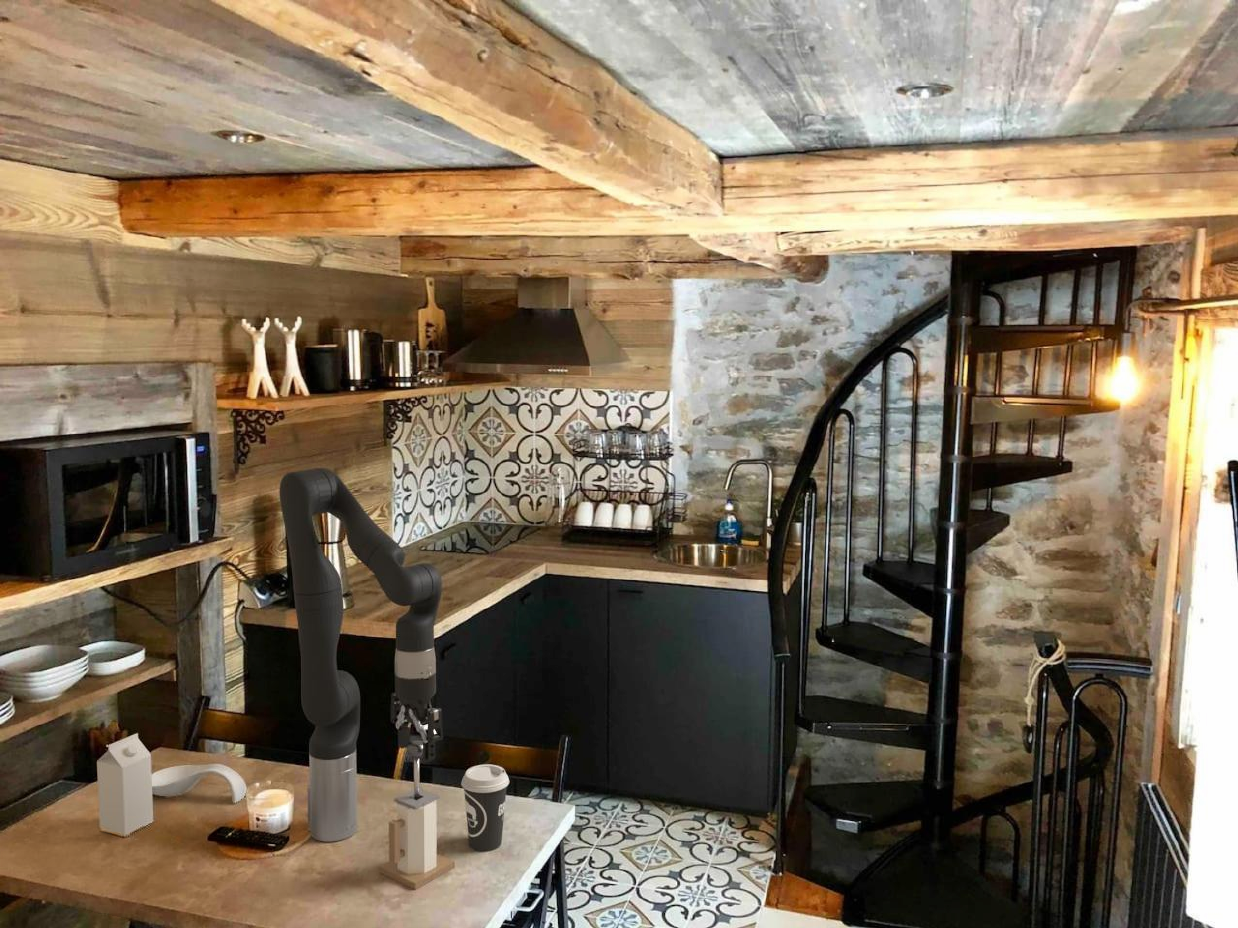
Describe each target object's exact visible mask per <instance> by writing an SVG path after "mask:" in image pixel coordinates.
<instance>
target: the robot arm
mask: <svg viewBox="0 0 1238 928" xmlns="http://www.w3.org/2000/svg"><path fill="white" fill-rule="evenodd" d="M278 491H279V493H278V494H279V503H280V509H281V515H282V518H283V523H284V529H285V534H286V538H287V543H288V548H289V550H288V551H289V558H290V564H291V573H292V582H293V583H292V585H293V596H294V597H293V598H294V606H295V613H296V619H297V631H298V642H299V650H300V669H301V671H300V675H301V676H300V677H301V678H300V679H301V680H300V686H301V688H300V695H301V696H300V698H301V700H300V701H301V702H300V703H301V707H302V710H303V714H304V716H305V717H306V718H307V720H308V721H309V722H310V723H311V724H313V725H315V727H314V728H315V729H314V731H313V733H312V735H311V737H310V738H309V742H308V751H309V752H308V753H309V754H308V756H309V758H308V759H309V761H308V762H309V785H308V786H307V788H306V789H307V790H306V791H307V827H308V828H307V830H308V829H310V830H311V831H310V835H311V837H312V838H313V839H314V840H317V841H319V842H337V841H338V842H339V841H342V840H345V839H348V838H350V837H352V836H353V835H354V834H355V833H356V832H357V831H358V795H357V794H358V792H357V791H358V787H357V784H358V783H357V782H358V781H357V780H358V779H357V777H358V776H357V740H358V738H359V733H360V726H361V723H360V722H361V694H360V688H359V685H358V682H357V680H356V679H355V677H354V676H353V675H352V674H351V673H349V672H348V671H344V670H339V669H338V666H337V665H338V664H337V663H338V662H337V653H338V652H337V650H338V644H339V639H340V634H341V629H342V626H343V619H344V611H345V609H344V596H343V587H342V586H343V585H342V580H341V577H340V574H339V572H338V571H337V569H336V567H335V565H334V564H333V563H332V561H331V560H330V559H329V558H328V556H327V555H326V553H324V551H323V550H322V548H321V546H320V545H319V543H318V540H317V537H316V533H315V528H314V522H313V521H314V520H313V516H318V515H322V514H326V513H328V514H331V516H333V517H335V518H336V519H338V520H339V521H340V522H341V523H342V524H343V527H344V529H345V536H346V541H347V545H348V547H349V549H350V550H351V552H352V553H353V555H354V556H355V557H356V558H357V560H359V561H360V562H361V563H362V564H364V566H366V568H367V569H369V570H370V571H371V572H372V573H373V575H374V578H376V580H377V582H378V584H379V585H380V588H381V589H382V591H383V593H384V594H385V596H386V597H387V599H388V600H389V601H390V602H391V603H393V604H395V605H397V606H399V607H409V609H408V610H407V611H406V613H404V614H403V615H402V616H401V617H399V618H398V619H397V620H396V623H395V653H394V654H395V655H394V690H395V691H394V692H393V693H391V694H390V722H391V724H395V728H396V729H397V737H398V738H397V741H398V744H397V745H398V748H399V749H407V744H408V743H409V742H411V727H410V725H411V724H412V725H413V726H414V727H415V729H416V732H417V733H420V736H421V738H422V741H423V757H422V761H423V762H425V763H428V762H432V761H434V760H435V759H436V742H437V741H441V740H443V739H444V732H443V711H442V707H437V708H434V707H433V706H432V701H431V699H432V698H433V696H435V694H436V693H437V666H436V662H437V659H436V651H435V627H434V626H435V621H436V618H437V614H438V611H439V608H440V607H439V605H440V602H441V597H442V592H443V580H442V576H441V574H440V571H439V570H438V569H437V567H436V566H434V565H433V564H431V563H428V562H421V563H417V564H413V565H409V566H405V567H404V566H403V564H404V563H405V559H406V553H405V551H404V549H403V547H401V545H400V544H399V543H397V542H396V541H395V540H394V539H393V538H392V537H391V536H390V535H389V534H387V533H386V532H385V531H384V530H383V529H382V528H380V526H379V525H378V524H377V523H375V521H374V520H373V519H372V518H371V517H370V516H369V515H368V513H367V512H366V510H364V508H363V507H362V505H361V504H360V502H359V501H358V500H357V499H356V497H354V496H355V495H353V493H352V492H351V491H350V489H349V488H348V487H347V485H346V484H345V483H344V482H343V480H342V479H341V478H340V476H338V474H337V473H335V472H334V471H333V470H331V469H329V468H326V467H316V468H311V469H310V468H309V469H308V468H307V469H302V470H296V471H291V472H287V473H286V474H284V476H283V477H282V478H281V481H280V483H279V490H278ZM397 712H399V714H398V715H397ZM426 723H427V724H426ZM426 731H427V732H426Z"/></svg>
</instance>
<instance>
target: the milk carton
mask: <svg viewBox="0 0 1238 928" xmlns="http://www.w3.org/2000/svg"><path fill="white" fill-rule="evenodd" d="M107 746H108V750H107V751H106V752H105V753H104V754H103V755H102V756H101V757H100V758H99V759H98V760H97V761H96V771H97V773H96V774H97V791H98V793H97V794H98V818H99V819H98V820H99V829H100V828H101V829H105V830H108V831H112V832H116V833H120V834H123V835H126V834H129V833H130V832H132V831H134V830H136V829H138V828H140V827H142V826H146V825H148V824H149V823H152V822H153V823H154V809H153V808H154V805H153V804H154V803H153V801H154V800H153V794H152V774H153V773H152V754H151V753H150V751H149V750H148V749H147V748H146V746H145V745H144V744H143V742H142V741H141V740H140V738H139V733H138V732H137V733H133V734H132V735H129V736H127V737H125V738H121V739H120V740H117V741H114V742H113V743H110V744H108V745H107ZM153 823H152V824H153ZM148 826H149V825H148ZM146 827H147V826H146Z"/></svg>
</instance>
